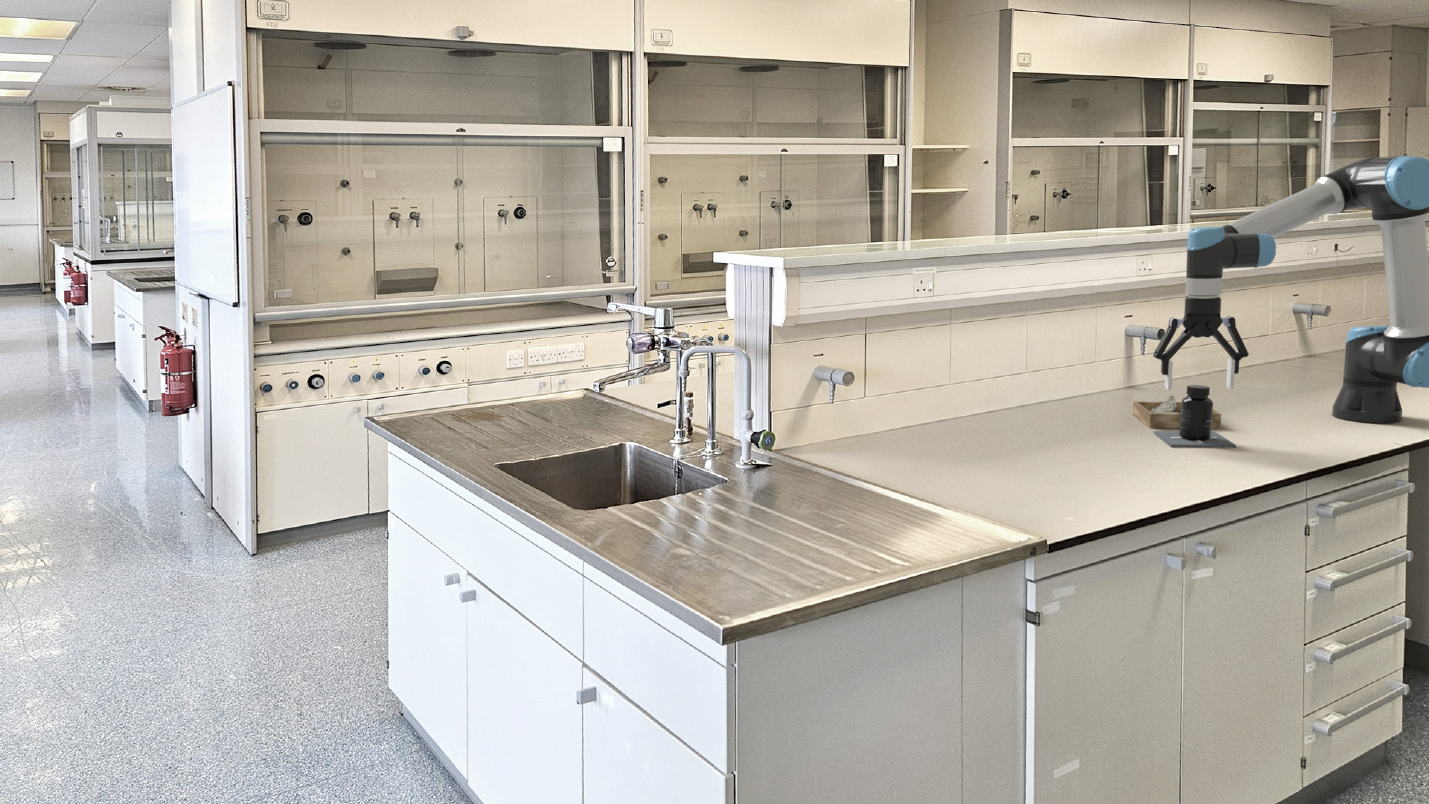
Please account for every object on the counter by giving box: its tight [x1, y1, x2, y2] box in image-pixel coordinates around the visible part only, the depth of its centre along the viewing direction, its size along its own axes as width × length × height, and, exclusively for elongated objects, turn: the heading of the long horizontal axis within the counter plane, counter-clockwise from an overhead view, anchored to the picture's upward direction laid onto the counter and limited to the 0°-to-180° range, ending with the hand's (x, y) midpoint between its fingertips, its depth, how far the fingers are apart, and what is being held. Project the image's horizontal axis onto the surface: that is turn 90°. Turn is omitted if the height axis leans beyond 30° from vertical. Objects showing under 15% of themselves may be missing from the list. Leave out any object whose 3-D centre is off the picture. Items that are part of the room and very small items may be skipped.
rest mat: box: [1153, 430, 1237, 449], centre depth 255 cm, size 14×14×1 cm
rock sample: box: [1150, 394, 1179, 413], centre depth 277 cm, size 10×8×9 cm
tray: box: [1132, 401, 1222, 429], centre depth 275 cm, size 17×16×4 cm
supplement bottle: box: [1178, 384, 1214, 440], centre depth 254 cm, size 7×7×12 cm
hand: (1198, 388), depth 253 cm, fingers open, 13 cm apart
